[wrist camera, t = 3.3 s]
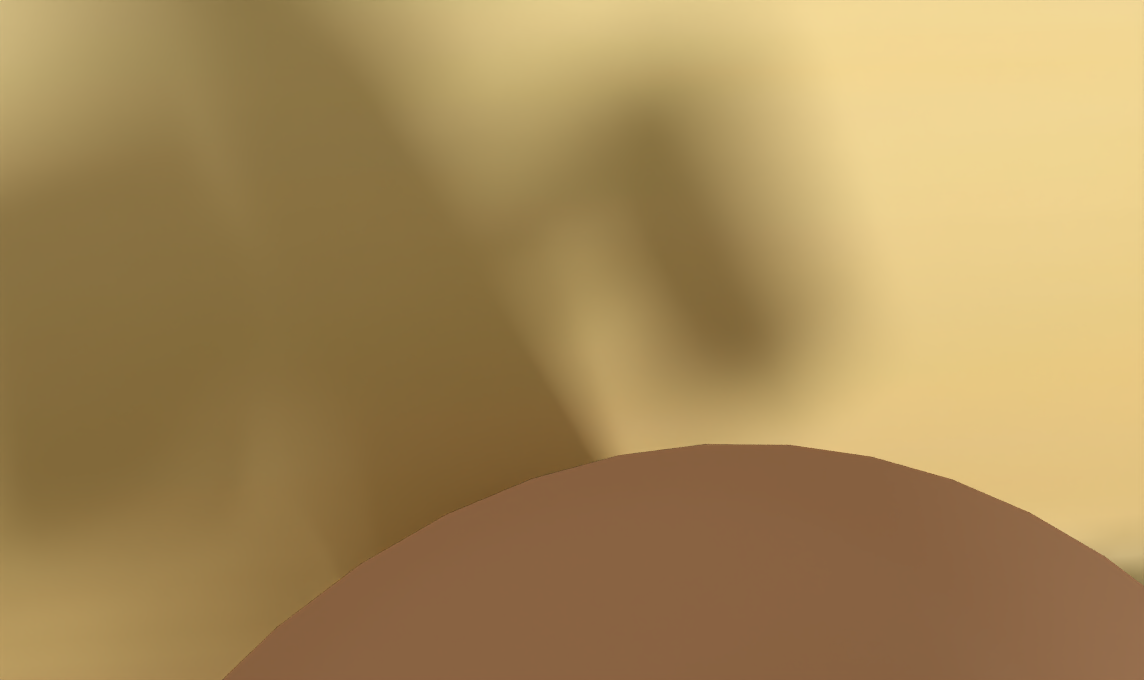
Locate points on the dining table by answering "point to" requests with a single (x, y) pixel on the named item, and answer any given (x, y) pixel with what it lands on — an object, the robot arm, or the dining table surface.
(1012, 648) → the cargo canister
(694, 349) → the dining table surface
